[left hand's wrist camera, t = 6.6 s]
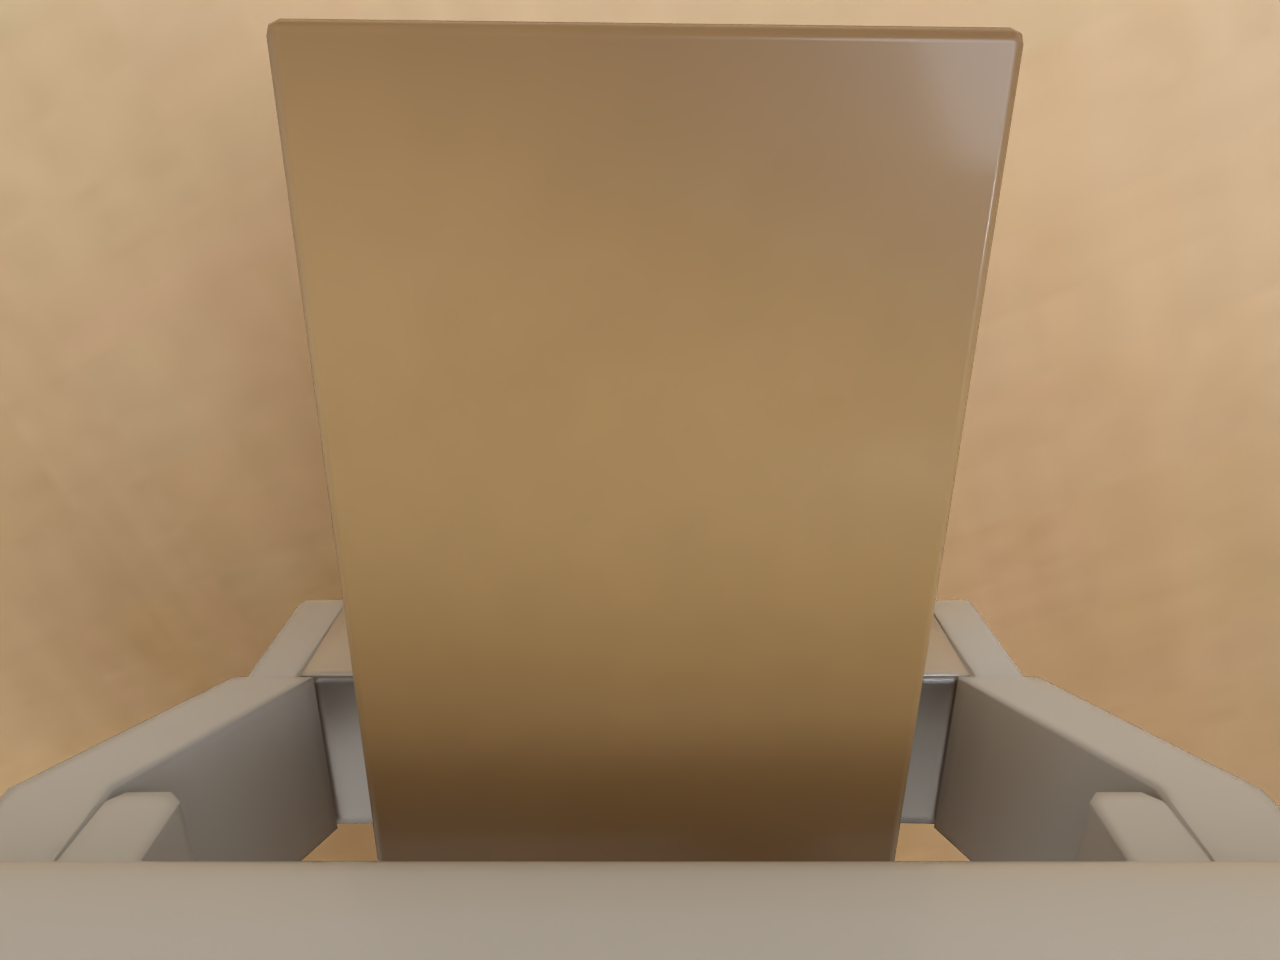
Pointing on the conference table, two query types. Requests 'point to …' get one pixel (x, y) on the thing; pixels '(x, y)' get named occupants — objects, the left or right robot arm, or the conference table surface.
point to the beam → (640, 415)
